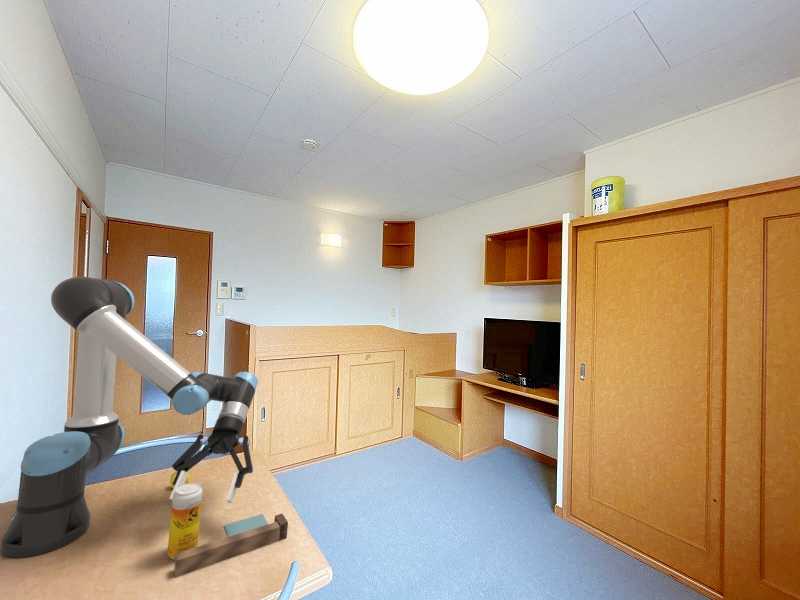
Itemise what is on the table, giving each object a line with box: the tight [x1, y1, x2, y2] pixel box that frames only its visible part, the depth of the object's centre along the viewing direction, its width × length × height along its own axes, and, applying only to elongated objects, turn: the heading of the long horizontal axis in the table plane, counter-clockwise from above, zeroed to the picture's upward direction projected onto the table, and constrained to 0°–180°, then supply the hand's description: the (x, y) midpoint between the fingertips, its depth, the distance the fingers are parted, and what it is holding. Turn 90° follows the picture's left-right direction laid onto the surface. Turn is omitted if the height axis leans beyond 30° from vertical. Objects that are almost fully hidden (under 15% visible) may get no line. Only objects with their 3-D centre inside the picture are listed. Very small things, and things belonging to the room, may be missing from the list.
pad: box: [223, 513, 269, 537], centre depth 90 cm, size 10×9×1 cm
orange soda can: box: [166, 482, 203, 561], centre depth 81 cm, size 6×6×15 cm
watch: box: [169, 471, 191, 490], centre depth 108 cm, size 6×3×6 cm, turn 83°
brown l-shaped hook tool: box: [173, 513, 289, 578], centre depth 82 cm, size 24×4×4 cm, turn 128°
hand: (201, 501), depth 85 cm, fingers open, 13 cm apart
